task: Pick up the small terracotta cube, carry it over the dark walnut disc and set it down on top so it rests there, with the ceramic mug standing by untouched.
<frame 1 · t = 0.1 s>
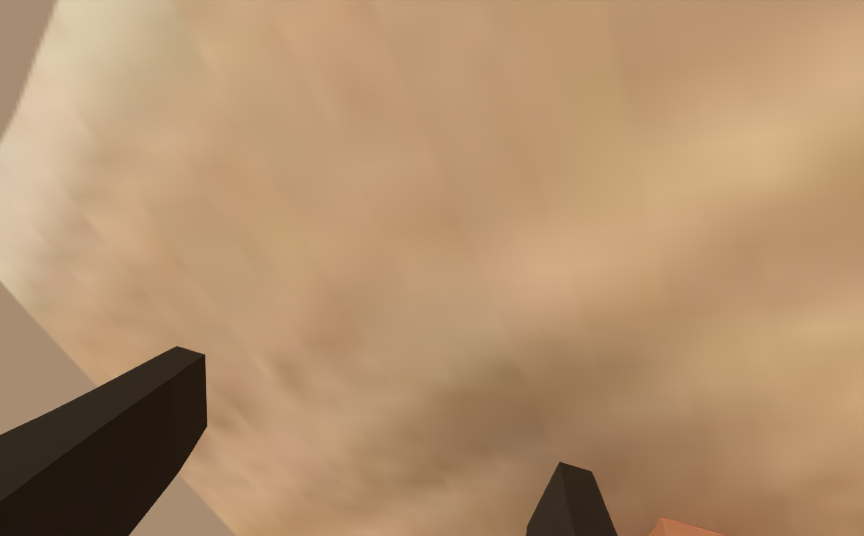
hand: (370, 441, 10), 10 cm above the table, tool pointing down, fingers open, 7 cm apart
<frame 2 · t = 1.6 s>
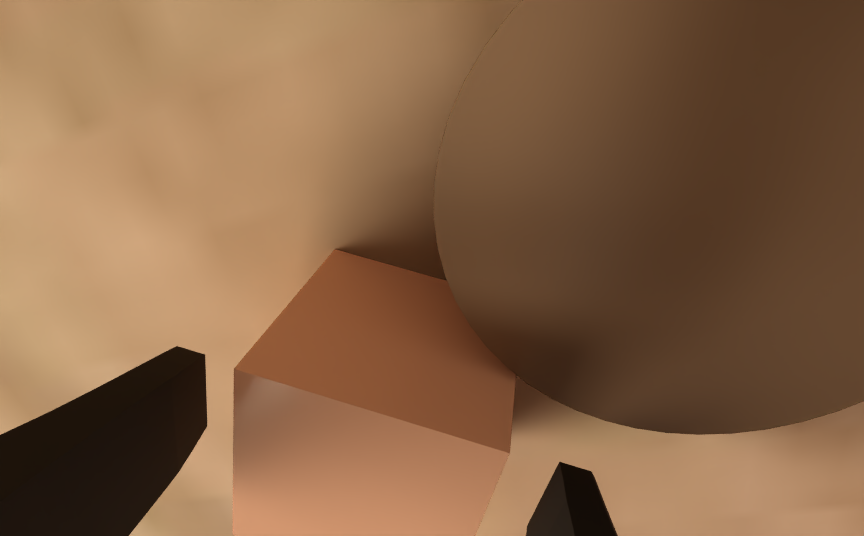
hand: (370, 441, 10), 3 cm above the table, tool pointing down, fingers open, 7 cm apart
pedestal: (667, 163, 10), on the table
cube: (410, 347, 13), on the table
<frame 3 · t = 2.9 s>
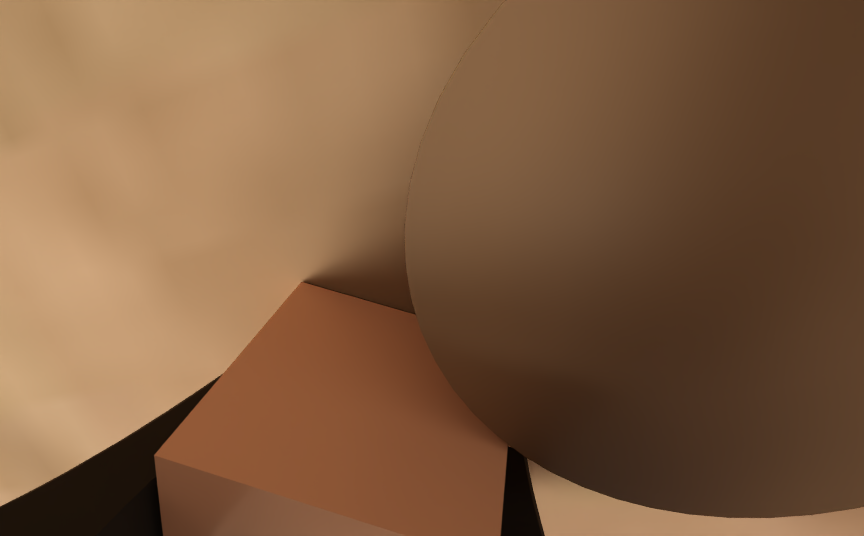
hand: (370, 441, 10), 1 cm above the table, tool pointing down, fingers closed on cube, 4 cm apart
pedestal: (687, 188, 8), on the table
cube: (389, 392, 11), on the table, touching gripper
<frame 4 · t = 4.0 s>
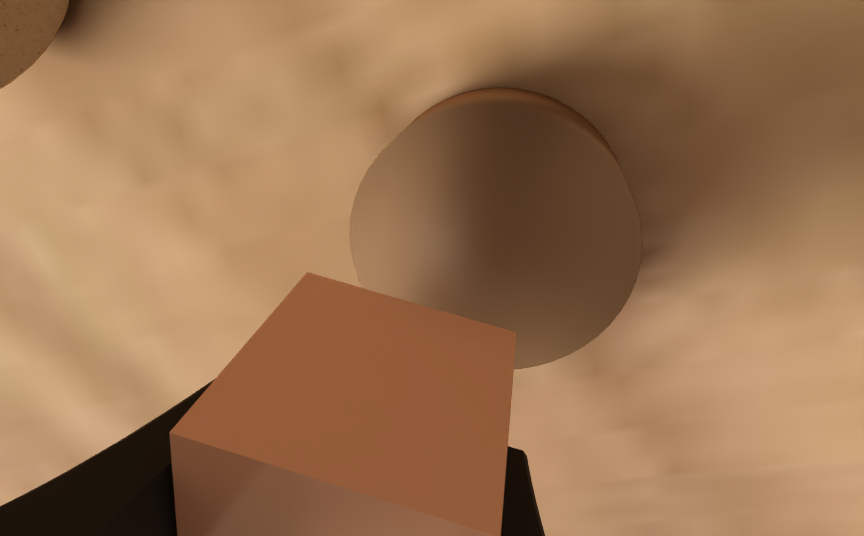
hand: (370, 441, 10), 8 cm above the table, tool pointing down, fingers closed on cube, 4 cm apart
pedestal: (496, 214, 17), on the table
cube: (392, 381, 12), point 7 cm above the table, touching gripper
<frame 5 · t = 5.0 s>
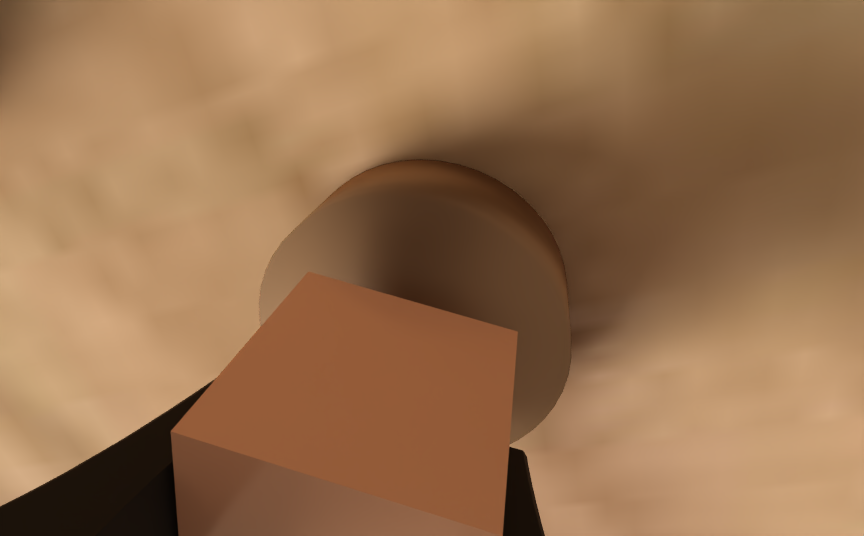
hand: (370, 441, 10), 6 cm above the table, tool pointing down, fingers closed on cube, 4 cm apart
pedestal: (430, 287, 15), on the table
cube: (393, 381, 11), point 4 cm above the table, touching gripper
when the fingers open (6 cm above the table, at t = 5.5 s): cube drops 1 cm, resting on pedestal.
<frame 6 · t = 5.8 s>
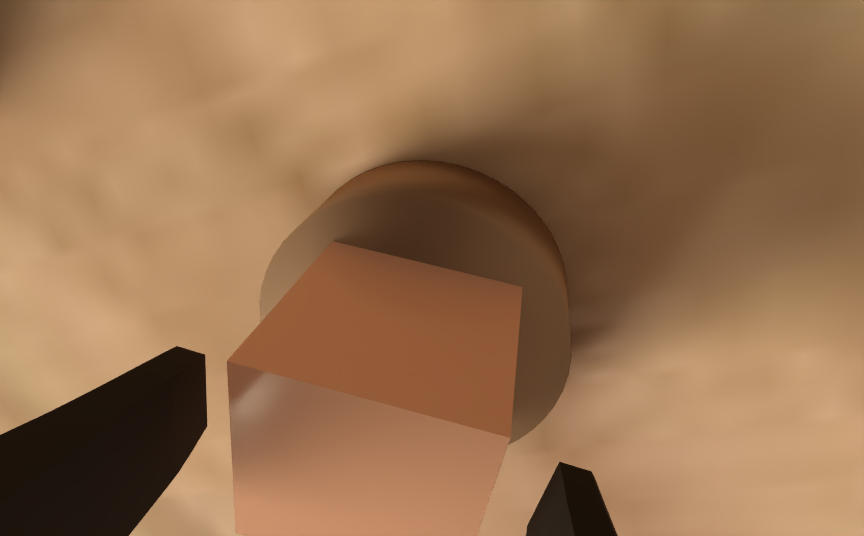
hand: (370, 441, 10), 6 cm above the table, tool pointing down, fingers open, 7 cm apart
pedestal: (430, 287, 15), on the table, touching cube
cube: (411, 340, 13), point 3 cm above the table, touching pedestal
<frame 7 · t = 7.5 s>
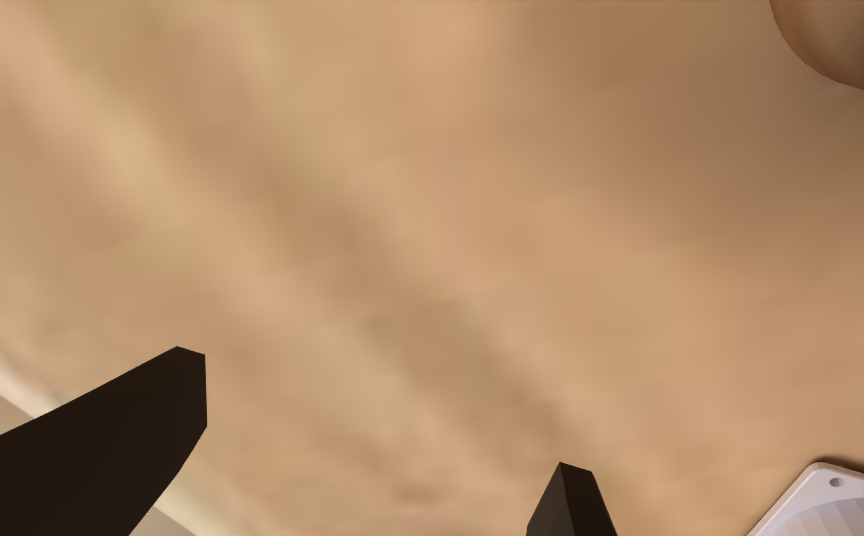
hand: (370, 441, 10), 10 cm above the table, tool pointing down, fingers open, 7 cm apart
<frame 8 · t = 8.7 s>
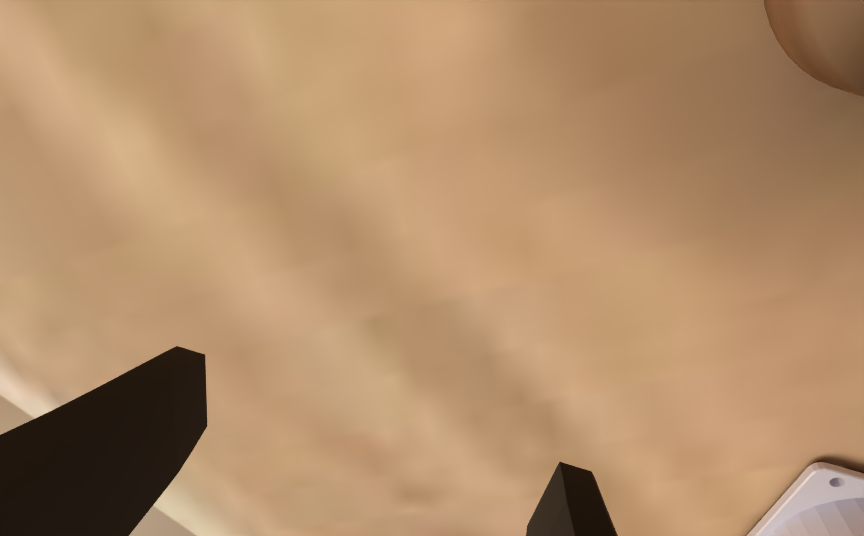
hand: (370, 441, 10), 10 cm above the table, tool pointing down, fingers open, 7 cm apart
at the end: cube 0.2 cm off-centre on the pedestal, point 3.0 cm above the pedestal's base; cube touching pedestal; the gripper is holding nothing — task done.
